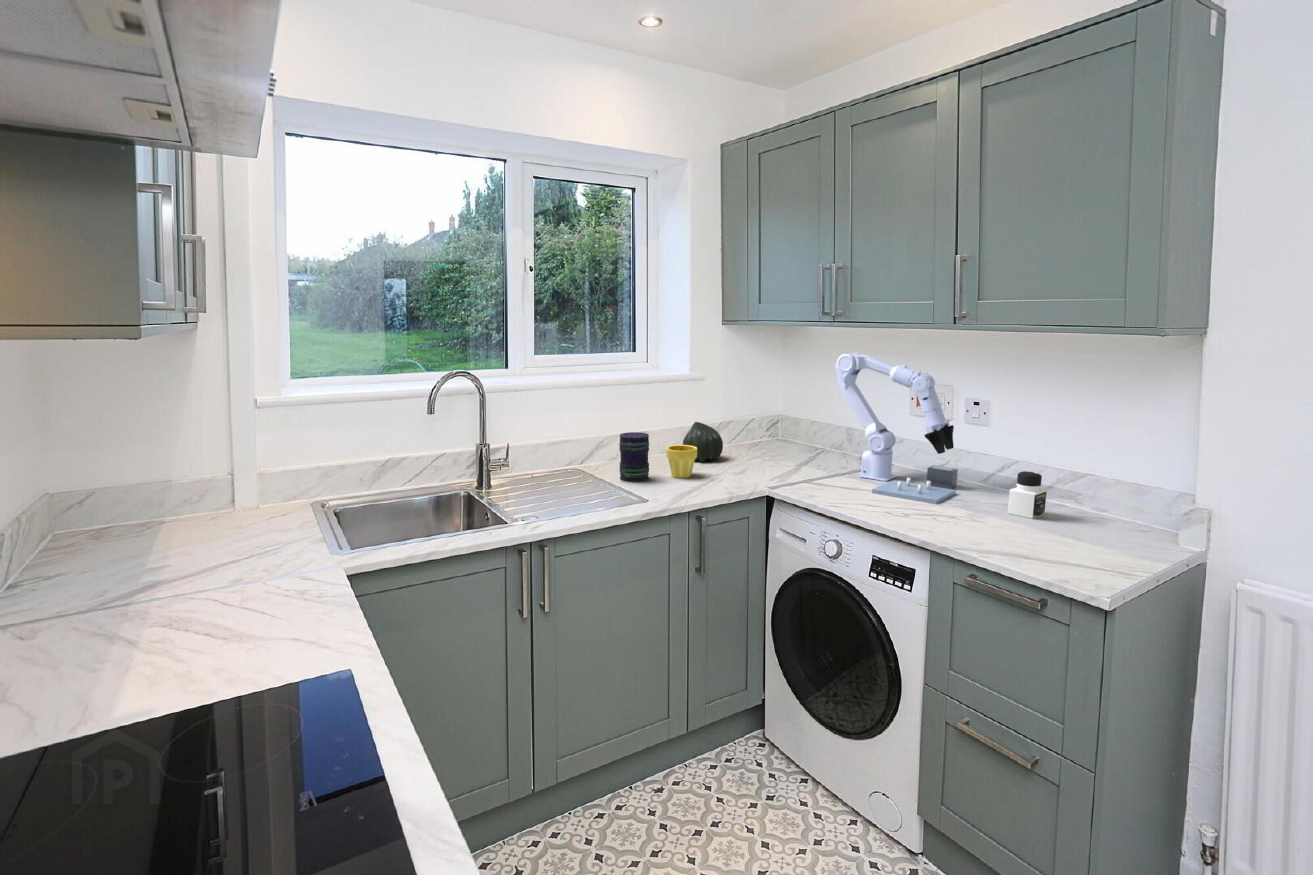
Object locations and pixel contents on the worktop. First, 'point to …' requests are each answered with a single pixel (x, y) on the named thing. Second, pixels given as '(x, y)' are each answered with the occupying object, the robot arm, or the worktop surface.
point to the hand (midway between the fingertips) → (946, 451)
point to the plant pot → (681, 460)
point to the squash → (704, 441)
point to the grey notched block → (942, 477)
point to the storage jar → (634, 457)
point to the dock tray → (914, 491)
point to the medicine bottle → (1027, 496)
